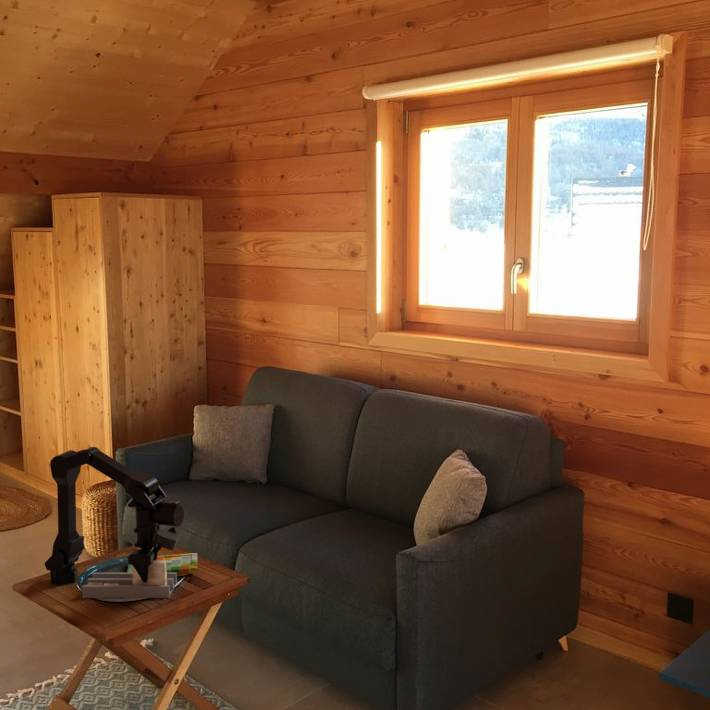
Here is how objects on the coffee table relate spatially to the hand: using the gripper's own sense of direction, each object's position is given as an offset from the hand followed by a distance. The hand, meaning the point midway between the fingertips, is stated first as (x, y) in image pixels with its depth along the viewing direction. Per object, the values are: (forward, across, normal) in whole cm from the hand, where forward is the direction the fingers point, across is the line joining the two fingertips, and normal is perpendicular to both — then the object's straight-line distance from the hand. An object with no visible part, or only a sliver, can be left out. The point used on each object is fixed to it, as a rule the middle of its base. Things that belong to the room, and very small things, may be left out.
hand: (149, 576), depth 244 cm
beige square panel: (+5, 0, 0) cm, 5 cm away
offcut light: (+5, 0, +11) cm, 12 cm away
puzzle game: (+7, +16, 0) cm, 17 cm away
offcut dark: (+5, 0, +16) cm, 16 cm away
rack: (+6, +2, +6) cm, 9 cm away
